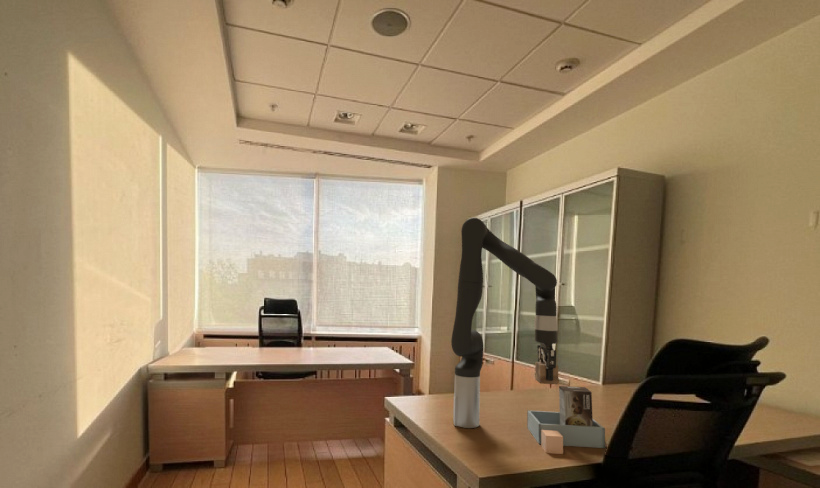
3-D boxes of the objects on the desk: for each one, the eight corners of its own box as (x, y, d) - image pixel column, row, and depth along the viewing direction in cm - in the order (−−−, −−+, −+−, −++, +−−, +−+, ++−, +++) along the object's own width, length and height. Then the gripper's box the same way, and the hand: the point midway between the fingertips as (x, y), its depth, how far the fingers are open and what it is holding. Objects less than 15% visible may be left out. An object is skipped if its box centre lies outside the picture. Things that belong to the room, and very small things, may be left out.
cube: (546, 453, 113) (546, 435, 113) (541, 446, 118) (541, 429, 118) (563, 454, 112) (562, 436, 113) (557, 447, 117) (557, 430, 118)
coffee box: (586, 435, 128) (585, 386, 131) (594, 443, 122) (592, 391, 124) (559, 433, 129) (558, 385, 131) (565, 440, 123) (564, 389, 125)
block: (558, 384, 125) (558, 366, 126) (540, 383, 126) (540, 365, 127) (552, 380, 131) (552, 362, 132) (535, 379, 132) (535, 361, 133)
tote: (539, 443, 119) (538, 424, 120) (527, 427, 134) (527, 410, 135) (605, 448, 118) (604, 428, 119) (586, 431, 133) (585, 413, 133)
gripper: (564, 331, 124) (565, 383, 121) (550, 327, 138) (551, 374, 136) (541, 330, 124) (541, 382, 122) (529, 326, 138) (530, 373, 136)
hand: (546, 378), depth 129 cm, fingers closed on block, 6 cm apart
